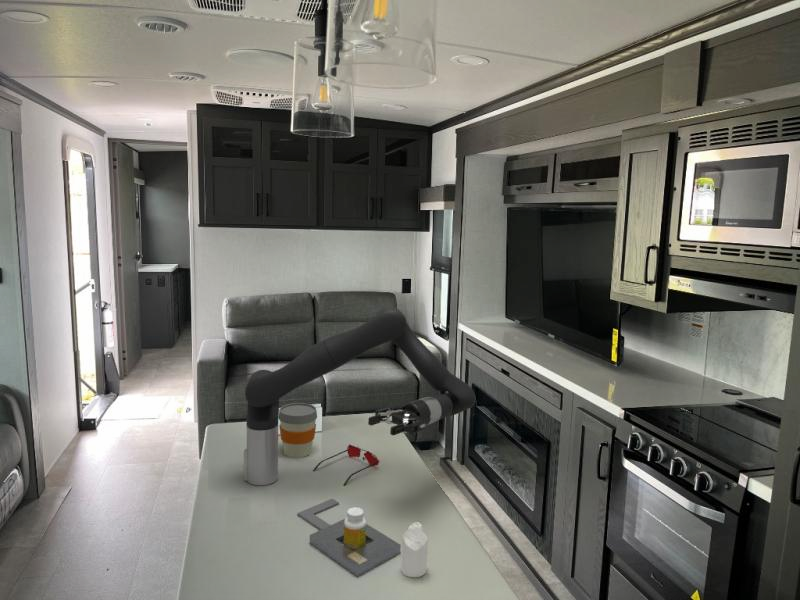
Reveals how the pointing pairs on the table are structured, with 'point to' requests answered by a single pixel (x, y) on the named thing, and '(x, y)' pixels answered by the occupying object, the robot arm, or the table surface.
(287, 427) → the reusable coffee cup
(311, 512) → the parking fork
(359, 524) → the supplement bottle
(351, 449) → the glasses
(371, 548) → the socket block
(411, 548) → the white plastic bottle
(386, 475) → the table surface
